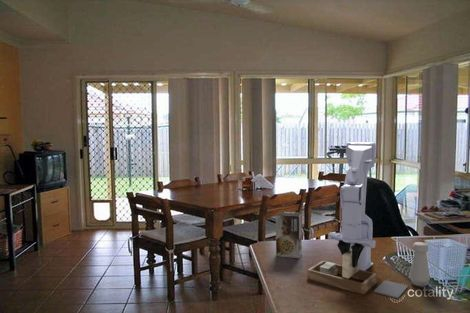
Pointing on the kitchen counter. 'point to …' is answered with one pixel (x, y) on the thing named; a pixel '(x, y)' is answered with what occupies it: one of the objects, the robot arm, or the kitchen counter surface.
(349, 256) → the cream flat block
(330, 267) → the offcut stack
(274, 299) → the kitchen counter surface
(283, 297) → the kitchen counter surface
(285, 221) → the coffee box
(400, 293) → the rubber mat
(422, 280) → the salt shaker
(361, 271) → the tray
